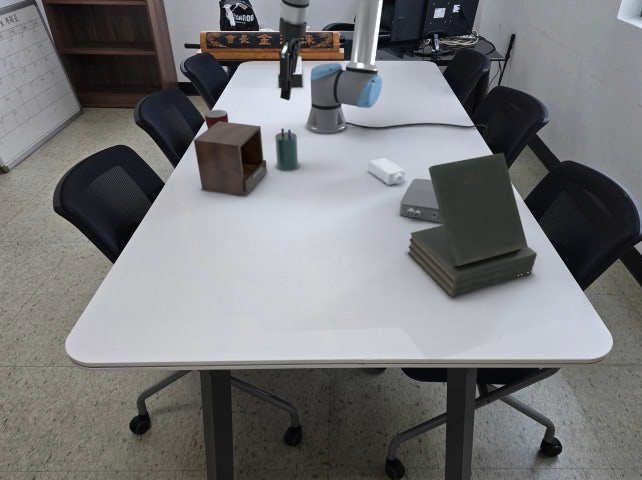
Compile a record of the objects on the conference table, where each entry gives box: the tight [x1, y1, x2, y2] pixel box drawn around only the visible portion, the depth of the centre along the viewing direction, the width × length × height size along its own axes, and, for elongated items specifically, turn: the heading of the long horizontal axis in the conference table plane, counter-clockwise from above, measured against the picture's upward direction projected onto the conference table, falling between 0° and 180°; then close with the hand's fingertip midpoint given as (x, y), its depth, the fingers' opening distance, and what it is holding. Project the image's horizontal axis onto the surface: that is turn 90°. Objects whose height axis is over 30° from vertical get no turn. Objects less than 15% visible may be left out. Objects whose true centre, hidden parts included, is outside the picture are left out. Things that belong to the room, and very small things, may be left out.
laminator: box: [277, 55, 303, 88], centre depth 248 cm, size 34×12×6 cm, turn 4°
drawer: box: [242, 159, 268, 194], centre depth 155 cm, size 14×15×4 cm
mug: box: [204, 109, 229, 130], centre depth 180 cm, size 10×8×10 cm
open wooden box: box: [193, 121, 264, 197], centre depth 152 cm, size 14×16×16 cm
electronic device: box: [399, 178, 443, 224], centre depth 143 cm, size 19×22×5 cm
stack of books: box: [407, 152, 538, 299], centre depth 115 cm, size 23×20×25 cm
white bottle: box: [368, 157, 406, 186], centre depth 159 cm, size 6×13×4 cm, turn 30°
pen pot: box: [274, 127, 299, 172], centre depth 163 cm, size 7×7×13 cm
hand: (285, 98), depth 154 cm, fingers closed
